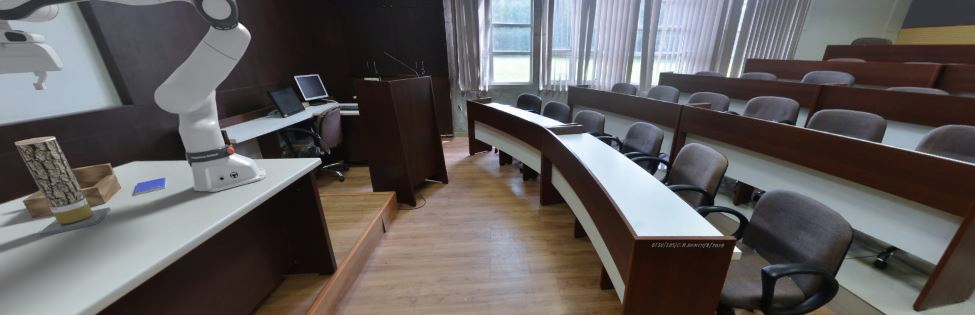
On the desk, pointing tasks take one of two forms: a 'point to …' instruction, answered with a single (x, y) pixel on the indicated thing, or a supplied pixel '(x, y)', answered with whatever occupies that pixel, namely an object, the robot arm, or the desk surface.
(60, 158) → the wooden log
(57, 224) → the slate pad
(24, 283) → the desk surface
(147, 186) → the hard drive
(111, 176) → the frame
